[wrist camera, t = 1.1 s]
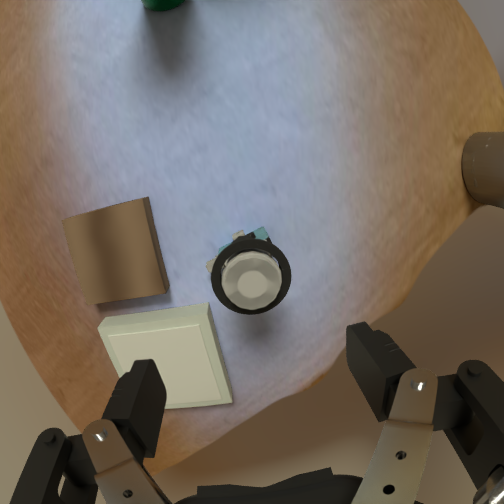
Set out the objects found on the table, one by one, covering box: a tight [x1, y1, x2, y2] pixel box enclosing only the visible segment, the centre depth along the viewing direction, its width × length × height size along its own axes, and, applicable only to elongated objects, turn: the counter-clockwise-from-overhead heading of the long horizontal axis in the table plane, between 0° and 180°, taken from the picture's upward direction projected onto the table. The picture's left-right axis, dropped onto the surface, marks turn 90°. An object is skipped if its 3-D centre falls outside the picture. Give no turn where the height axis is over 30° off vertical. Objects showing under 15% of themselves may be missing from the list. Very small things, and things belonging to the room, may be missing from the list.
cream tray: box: [98, 302, 232, 409], centre depth 30 cm, size 12×12×3 cm
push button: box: [206, 227, 291, 315], centre depth 24 cm, size 7×5×10 cm
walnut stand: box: [62, 197, 170, 305], centre depth 27 cm, size 9×9×2 cm
